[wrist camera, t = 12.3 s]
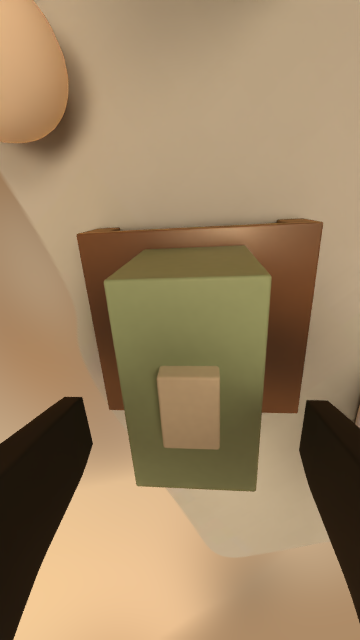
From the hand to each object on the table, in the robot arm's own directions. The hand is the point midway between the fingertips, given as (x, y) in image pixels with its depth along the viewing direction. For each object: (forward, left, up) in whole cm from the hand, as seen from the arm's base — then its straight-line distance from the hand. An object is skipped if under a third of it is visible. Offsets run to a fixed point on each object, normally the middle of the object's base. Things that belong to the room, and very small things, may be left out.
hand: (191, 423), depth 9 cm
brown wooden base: (0, 0, -10) cm, 10 cm away
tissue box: (0, 0, -7) cm, 7 cm away
